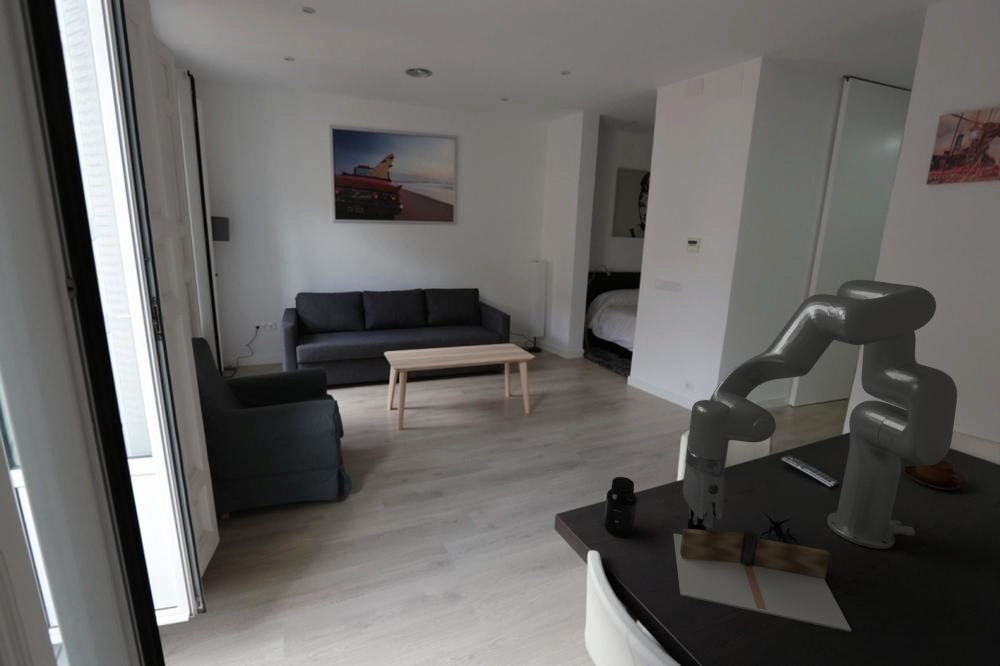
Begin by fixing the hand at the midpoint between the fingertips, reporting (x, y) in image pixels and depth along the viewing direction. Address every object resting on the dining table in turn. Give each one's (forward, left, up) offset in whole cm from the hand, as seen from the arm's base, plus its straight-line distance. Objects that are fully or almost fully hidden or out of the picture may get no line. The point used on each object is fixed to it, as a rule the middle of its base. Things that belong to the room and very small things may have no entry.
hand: (695, 537), depth 101 cm
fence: (-17, +1, -3) cm, 17 cm away
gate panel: (-3, +3, -2) cm, 4 cm away
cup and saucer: (-68, -52, -4) cm, 86 cm away
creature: (-19, -9, -4) cm, 21 cm away
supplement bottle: (+16, -3, -3) cm, 17 cm away
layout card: (-10, +5, -3) cm, 12 cm away
